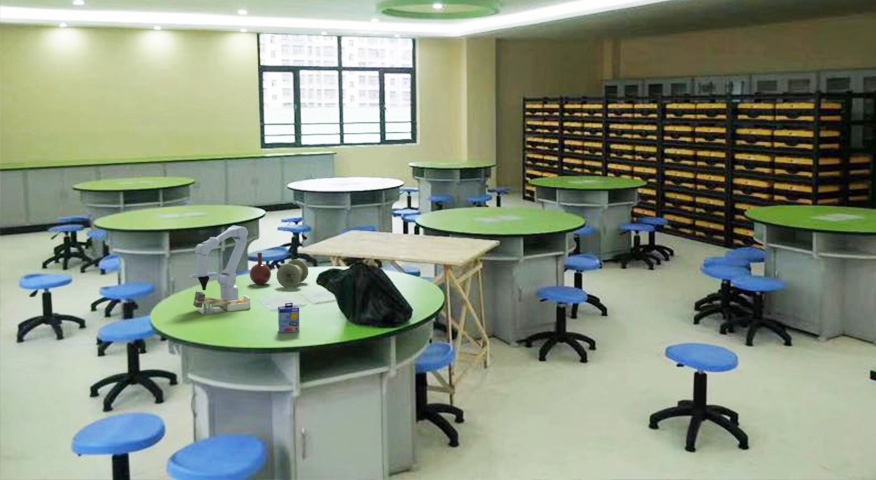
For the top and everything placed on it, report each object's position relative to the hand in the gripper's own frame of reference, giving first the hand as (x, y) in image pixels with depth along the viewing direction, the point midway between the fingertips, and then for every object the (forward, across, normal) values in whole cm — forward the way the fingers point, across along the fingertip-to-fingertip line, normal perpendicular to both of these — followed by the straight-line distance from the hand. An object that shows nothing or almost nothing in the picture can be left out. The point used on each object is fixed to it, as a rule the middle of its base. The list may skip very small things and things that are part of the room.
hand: (204, 289), depth 420 cm
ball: (+7, +16, -13) cm, 22 cm away
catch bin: (+9, +14, -13) cm, 21 cm away
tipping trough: (+8, 0, -10) cm, 13 cm away
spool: (+10, +62, +29) cm, 69 cm away
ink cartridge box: (+10, +23, -72) cm, 76 cm away
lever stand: (+9, 0, -13) cm, 16 cm away
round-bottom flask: (+10, +45, +41) cm, 62 cm away
